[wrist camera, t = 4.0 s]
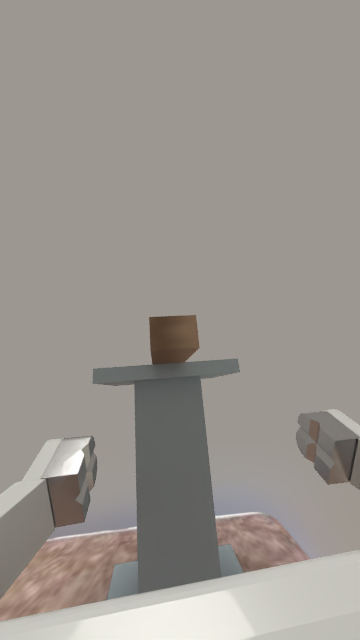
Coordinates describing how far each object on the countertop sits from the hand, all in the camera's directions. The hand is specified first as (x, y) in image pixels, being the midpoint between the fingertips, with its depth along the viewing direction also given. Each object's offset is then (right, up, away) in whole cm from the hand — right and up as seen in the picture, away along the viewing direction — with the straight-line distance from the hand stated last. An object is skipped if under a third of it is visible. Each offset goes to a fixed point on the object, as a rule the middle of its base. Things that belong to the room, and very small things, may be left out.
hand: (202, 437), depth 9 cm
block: (-2, -1, +18) cm, 18 cm away
